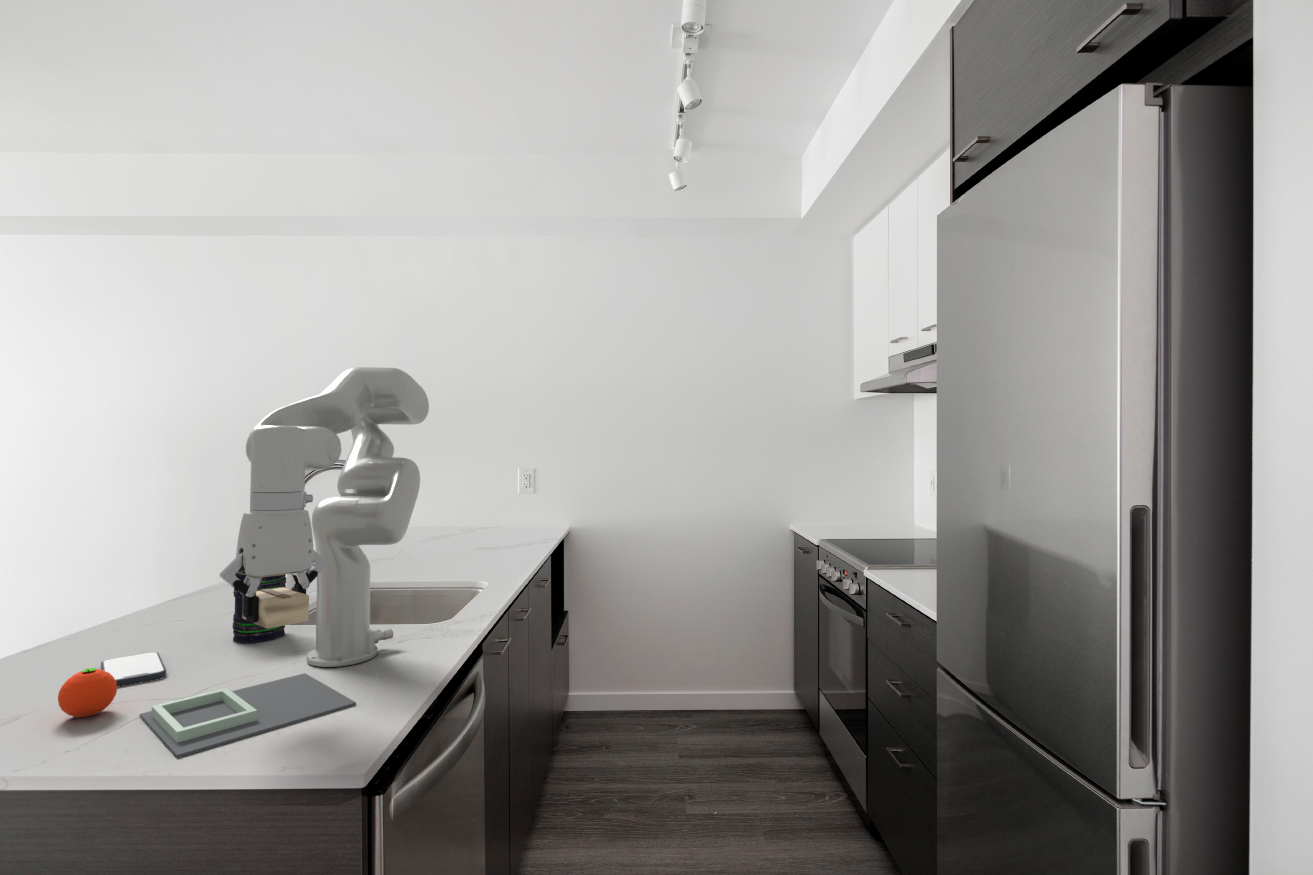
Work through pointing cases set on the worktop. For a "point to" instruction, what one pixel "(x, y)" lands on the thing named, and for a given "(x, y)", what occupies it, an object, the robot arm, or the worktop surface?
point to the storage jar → (250, 631)
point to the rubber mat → (274, 710)
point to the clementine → (87, 692)
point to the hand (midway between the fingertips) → (275, 615)
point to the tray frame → (181, 734)
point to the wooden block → (281, 607)
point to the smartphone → (135, 668)
